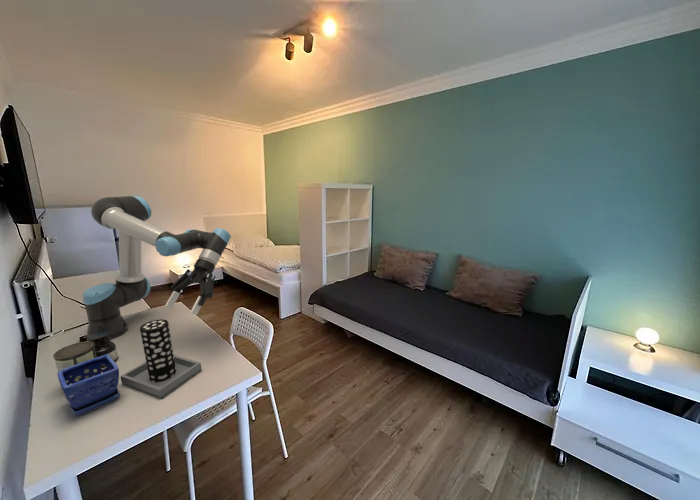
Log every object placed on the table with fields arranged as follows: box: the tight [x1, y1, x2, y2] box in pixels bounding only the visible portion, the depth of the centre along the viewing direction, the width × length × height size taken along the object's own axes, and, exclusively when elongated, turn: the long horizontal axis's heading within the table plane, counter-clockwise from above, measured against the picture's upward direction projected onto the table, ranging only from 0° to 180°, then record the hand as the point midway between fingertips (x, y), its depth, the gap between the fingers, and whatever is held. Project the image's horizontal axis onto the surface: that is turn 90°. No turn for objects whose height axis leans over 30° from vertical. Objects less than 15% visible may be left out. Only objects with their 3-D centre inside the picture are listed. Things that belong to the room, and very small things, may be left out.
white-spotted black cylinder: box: [139, 319, 176, 382], centre depth 104 cm, size 8×8×20 cm
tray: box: [119, 354, 203, 400], centre depth 106 cm, size 20×16×4 cm
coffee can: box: [52, 340, 97, 385], centre depth 101 cm, size 10×10×14 cm
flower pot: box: [57, 355, 121, 416], centre depth 93 cm, size 13×13×12 cm
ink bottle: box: [86, 331, 119, 369], centre depth 114 cm, size 10×9×12 cm
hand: (180, 310), depth 111 cm, fingers open, 13 cm apart
